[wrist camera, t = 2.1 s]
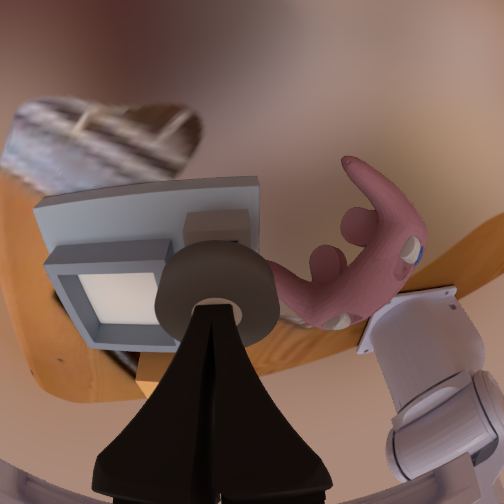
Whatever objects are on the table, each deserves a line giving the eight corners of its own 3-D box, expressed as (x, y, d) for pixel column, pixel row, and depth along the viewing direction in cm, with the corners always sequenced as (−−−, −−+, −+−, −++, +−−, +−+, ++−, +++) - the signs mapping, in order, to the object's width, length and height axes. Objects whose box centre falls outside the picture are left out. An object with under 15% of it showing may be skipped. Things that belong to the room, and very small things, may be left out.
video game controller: (290, 271, 22) (341, 347, 18) (246, 268, 19) (302, 361, 15) (376, 169, 17) (451, 242, 13) (344, 141, 14) (442, 227, 10)
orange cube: (202, 330, 23) (199, 382, 19) (209, 362, 26) (208, 408, 22) (145, 331, 23) (135, 380, 19) (159, 362, 25) (153, 406, 21)
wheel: (270, 211, 13) (284, 262, 10) (267, 293, 16) (276, 348, 13) (160, 217, 12) (140, 269, 9) (177, 297, 15) (169, 352, 12)
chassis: (257, 175, 15) (263, 203, 13) (256, 313, 22) (260, 350, 19) (43, 198, 15) (15, 225, 12) (92, 315, 21) (80, 347, 18)
